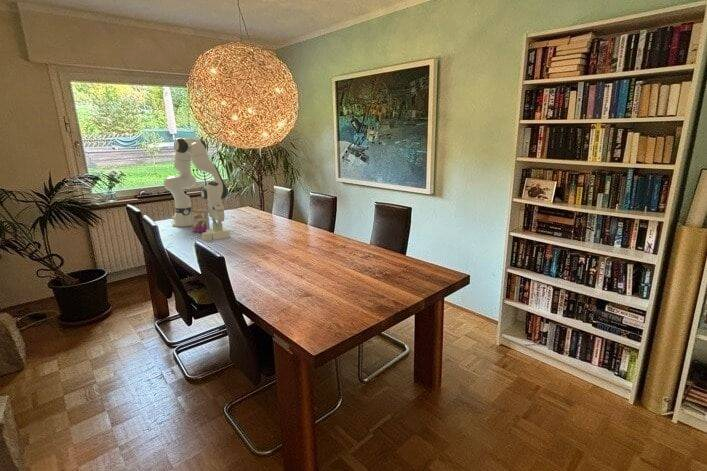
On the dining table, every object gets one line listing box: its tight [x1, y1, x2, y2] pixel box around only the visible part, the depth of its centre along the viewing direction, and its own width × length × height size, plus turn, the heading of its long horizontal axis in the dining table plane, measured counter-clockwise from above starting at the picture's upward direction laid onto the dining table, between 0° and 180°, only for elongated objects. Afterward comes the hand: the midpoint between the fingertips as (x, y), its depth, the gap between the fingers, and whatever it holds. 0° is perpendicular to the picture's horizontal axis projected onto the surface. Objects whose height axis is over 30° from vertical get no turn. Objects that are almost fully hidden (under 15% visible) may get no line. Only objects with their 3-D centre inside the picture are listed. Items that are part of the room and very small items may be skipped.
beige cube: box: [201, 232, 213, 242], centre depth 245 cm, size 5×5×5 cm
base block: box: [206, 227, 231, 241], centre depth 254 cm, size 12×12×5 cm
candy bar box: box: [191, 208, 211, 233], centre depth 263 cm, size 11×5×16 cm, turn 84°
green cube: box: [212, 221, 224, 231], centre depth 252 cm, size 5×5×5 cm
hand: (217, 225), depth 252 cm, fingers open, 8 cm apart
